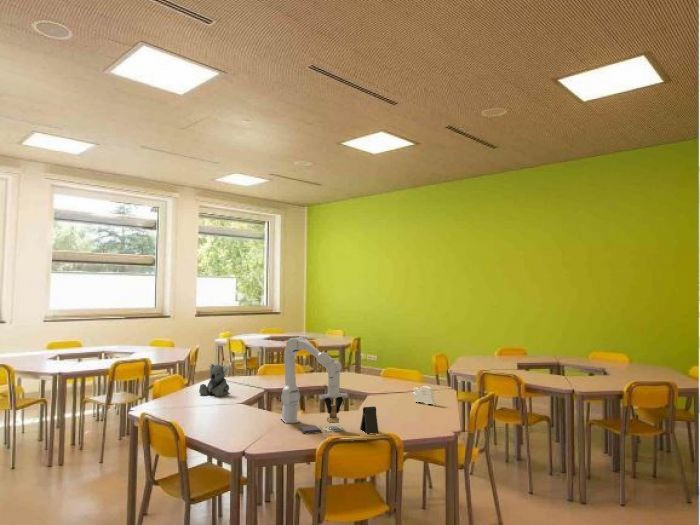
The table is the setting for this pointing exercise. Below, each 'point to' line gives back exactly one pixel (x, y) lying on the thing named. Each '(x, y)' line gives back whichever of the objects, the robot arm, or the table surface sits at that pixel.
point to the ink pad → (309, 429)
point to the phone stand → (369, 420)
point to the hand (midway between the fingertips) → (333, 412)
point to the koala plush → (216, 381)
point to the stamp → (333, 415)
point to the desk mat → (334, 428)
